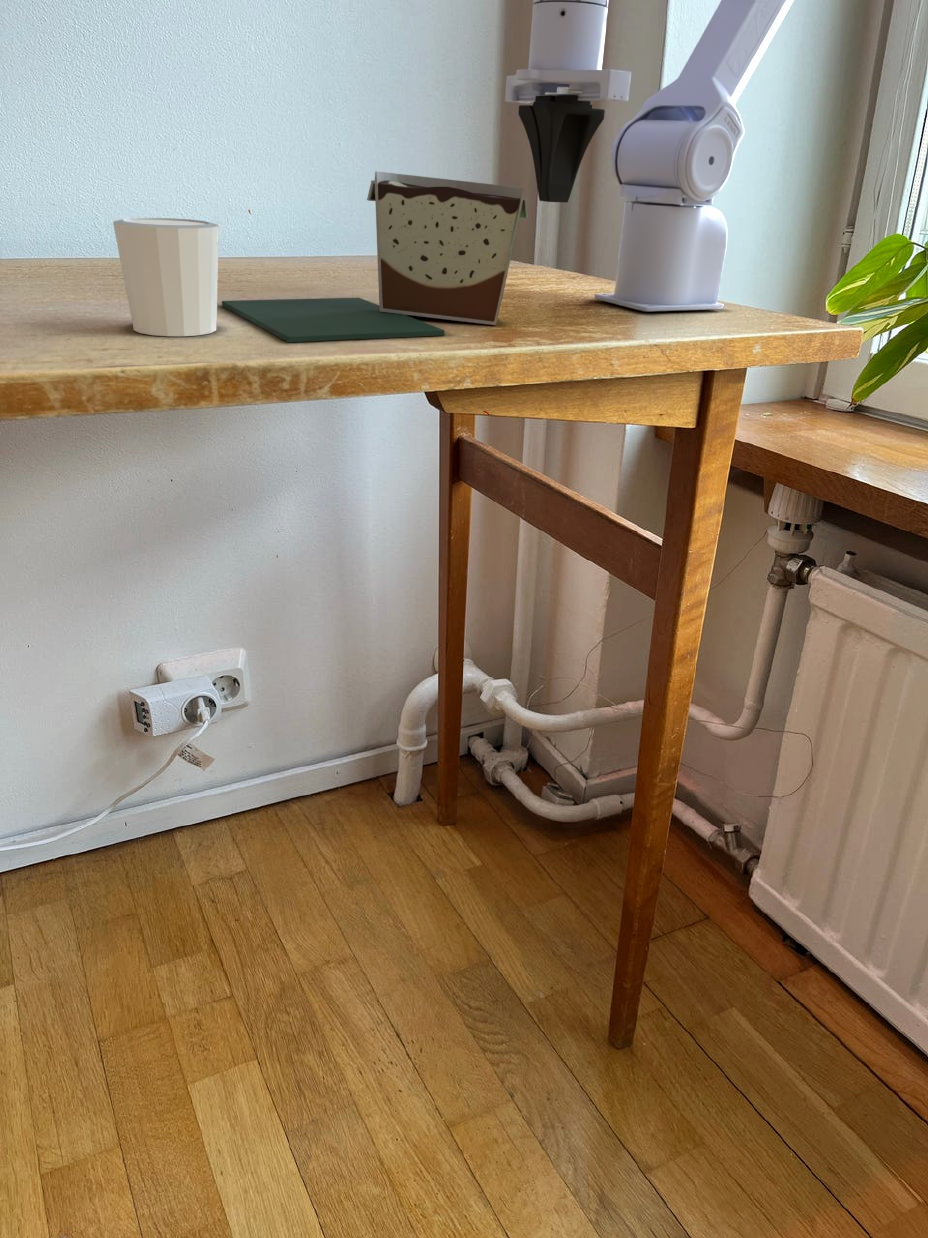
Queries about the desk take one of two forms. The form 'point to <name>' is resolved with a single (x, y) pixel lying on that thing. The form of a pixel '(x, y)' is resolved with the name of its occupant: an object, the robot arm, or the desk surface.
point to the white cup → (170, 274)
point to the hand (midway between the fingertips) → (553, 201)
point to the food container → (444, 245)
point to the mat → (328, 319)
